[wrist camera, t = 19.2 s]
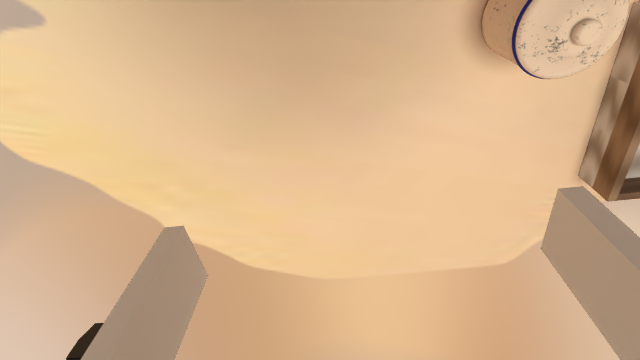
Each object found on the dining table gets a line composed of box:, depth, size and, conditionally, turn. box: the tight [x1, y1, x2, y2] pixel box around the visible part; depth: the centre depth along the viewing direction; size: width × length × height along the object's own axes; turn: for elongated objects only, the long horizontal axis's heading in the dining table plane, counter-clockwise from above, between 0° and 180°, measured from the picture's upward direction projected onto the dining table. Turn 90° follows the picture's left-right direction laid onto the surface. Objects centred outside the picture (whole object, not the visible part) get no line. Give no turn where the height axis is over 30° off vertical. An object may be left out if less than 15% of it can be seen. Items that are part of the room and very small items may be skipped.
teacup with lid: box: [482, 0, 629, 79], centre depth 30 cm, size 12×9×12 cm
